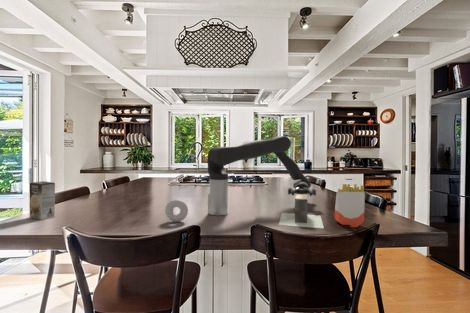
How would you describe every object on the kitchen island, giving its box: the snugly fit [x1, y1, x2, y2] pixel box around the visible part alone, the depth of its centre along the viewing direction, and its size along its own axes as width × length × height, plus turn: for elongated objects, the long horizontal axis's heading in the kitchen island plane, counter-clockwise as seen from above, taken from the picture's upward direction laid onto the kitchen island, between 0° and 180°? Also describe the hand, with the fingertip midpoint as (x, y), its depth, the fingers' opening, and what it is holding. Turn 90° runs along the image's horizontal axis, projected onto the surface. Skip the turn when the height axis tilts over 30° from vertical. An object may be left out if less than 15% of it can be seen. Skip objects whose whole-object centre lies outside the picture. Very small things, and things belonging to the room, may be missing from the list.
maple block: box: [294, 194, 309, 223], centre depth 124 cm, size 5×14×10 cm, turn 166°
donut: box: [164, 198, 189, 223], centre depth 120 cm, size 10×4×10 cm, turn 89°
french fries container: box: [334, 183, 366, 228], centre depth 117 cm, size 5×11×18 cm, turn 91°
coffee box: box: [29, 181, 56, 221], centre depth 125 cm, size 9×6×16 cm
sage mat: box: [278, 212, 325, 229], centre depth 122 cm, size 18×22×1 cm
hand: (301, 193), depth 139 cm, fingers open, 8 cm apart
